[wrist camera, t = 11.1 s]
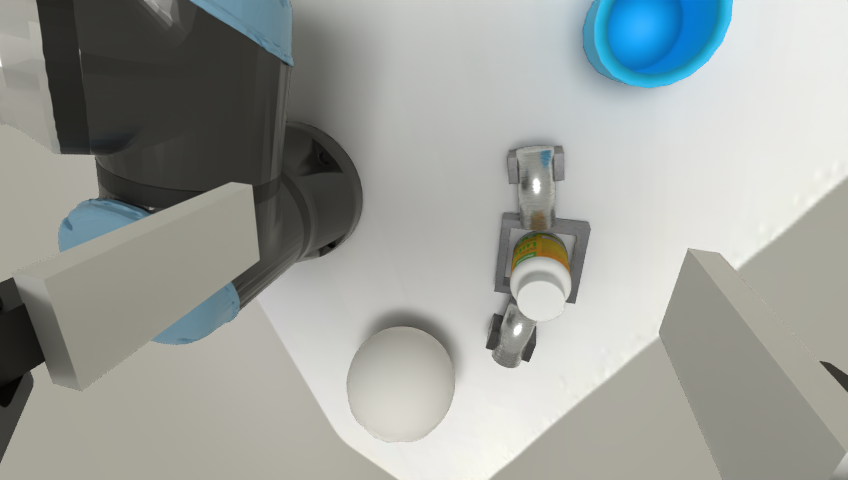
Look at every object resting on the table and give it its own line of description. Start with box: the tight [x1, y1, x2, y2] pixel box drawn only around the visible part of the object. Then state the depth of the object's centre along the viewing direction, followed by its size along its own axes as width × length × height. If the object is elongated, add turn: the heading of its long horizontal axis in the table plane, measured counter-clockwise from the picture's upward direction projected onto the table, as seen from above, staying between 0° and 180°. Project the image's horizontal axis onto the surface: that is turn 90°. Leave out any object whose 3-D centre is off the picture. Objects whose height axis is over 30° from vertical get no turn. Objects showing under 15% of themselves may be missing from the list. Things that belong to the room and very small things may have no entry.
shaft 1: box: [507, 146, 564, 230], centre depth 40 cm, size 7×5×5 cm
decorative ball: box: [347, 327, 455, 442], centre depth 48 cm, size 12×12×12 cm
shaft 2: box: [486, 297, 537, 368], centre depth 46 cm, size 7×5×5 cm
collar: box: [494, 213, 591, 304], centre depth 44 cm, size 8×8×2 cm
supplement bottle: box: [510, 231, 571, 322], centre depth 40 cm, size 5×5×10 cm
